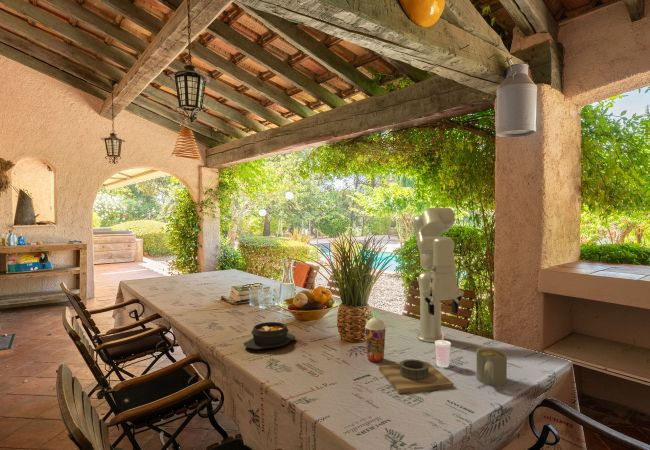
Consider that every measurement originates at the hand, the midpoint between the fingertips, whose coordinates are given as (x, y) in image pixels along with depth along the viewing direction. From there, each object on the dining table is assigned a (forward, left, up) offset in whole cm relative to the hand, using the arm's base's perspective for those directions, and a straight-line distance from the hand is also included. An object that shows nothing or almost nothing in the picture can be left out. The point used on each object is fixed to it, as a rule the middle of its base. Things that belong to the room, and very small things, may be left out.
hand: (443, 313), depth 155 cm
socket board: (+9, -16, -21) cm, 27 cm away
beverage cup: (0, 0, -21) cm, 21 cm away
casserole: (-39, -65, -21) cm, 79 cm away
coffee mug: (+17, +9, -21) cm, 28 cm away
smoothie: (-11, -24, -21) cm, 34 cm away
